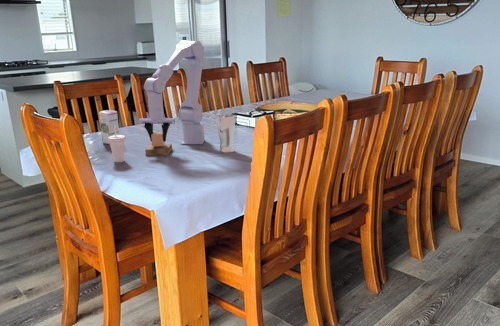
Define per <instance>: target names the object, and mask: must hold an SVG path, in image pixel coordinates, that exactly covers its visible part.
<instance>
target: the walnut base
mask: <svg viewBox="0 0 500 326" xmlns="http://www.w3.org/2000/svg"><path fill="white" fill-rule="evenodd" d="M172 150H173V145H172V143H165V144H164V146H152V143H150V144H149V145H148V146H147V147H145V153H144V154H145V156H169V154H170V153H171V152H172Z"/></svg>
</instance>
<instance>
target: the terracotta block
mask: <svg viewBox="0 0 500 326" xmlns="http://www.w3.org/2000/svg"><path fill="white" fill-rule="evenodd" d="M151 138H152V141H151V144H152V146H164V144H166V141H165V142H163V131H153V133H152V134H151Z"/></svg>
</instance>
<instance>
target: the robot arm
mask: <svg viewBox="0 0 500 326" xmlns="http://www.w3.org/2000/svg"><path fill="white" fill-rule="evenodd" d="M204 51H205V47H204V46H203V44H202V42H201V41H199V40H183V39H182V40H180V41H178V43H177V44H176V46H175V51H174V52H173V53H172V54H171V56H170V57H169V59H168V60H167V62H166V63H162V64H160V65H158V69H157V70H156V71H155V72H154V73H152V76H151V77H147V79H146V80H145V82H144V85H143V89H144V91H145V92H146V96H147V104H148V115H149V117H148V118H147V117H146V118H145V117H144V118H143V117H142V118H138V124H139V125H143V127H144V129H145V130H146V133H147V134H148V136H149V139H150V142H152V138H151V134H152V133H153V132H154V125H156V124H157V125H160V124H161V130H162V131H161V132H163V142H165V143H166V141H167V134H168V131H169V128H170V126H171V125H175V124H176V118H174V117H173V118H171V117H165V114H164V102H163V92H164V91H165V89H166V85H167V83H168V81H169V80H170V78H171V77H172V76H173V74H174V69H175V68H176V67H177V65H179V63H181V62H182V60H185V61H186V62H188V64H189V69H188V77H187V84H186V91H185V100H184V101H183V102H181V103H180V107H179V109H178V113H177V116H178V119H179V120H180V123H182V124H181V125H182V141H181V143H180V144H181V145H203V144H204V142H205V125H204V122H202V119H203V111H202V110H203V109H202V108H203V106H202V105H201V104H200V103H199V94H200V88H201V87H200V86H201V79H202V72H203V64H204V60H203V59H204Z"/></svg>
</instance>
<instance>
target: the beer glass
mask: <svg viewBox="0 0 500 326" xmlns="http://www.w3.org/2000/svg"><path fill="white" fill-rule="evenodd" d="M235 127H236V126H235V115H234V114H231V113H230V114H229V113H227V114H226V113H223V114H218V115H217V130H218V131H217V132H218V137H219V140H220V141H219V142H220V143H219V144H220V145H219V152H220V153H222V154H230V153H234V152H235V148H234V135H235V132H236V131H235V130H236V129H235Z"/></svg>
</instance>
